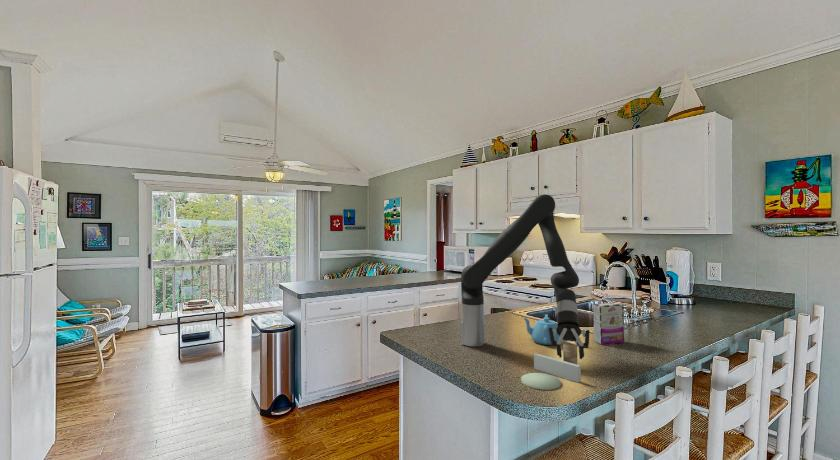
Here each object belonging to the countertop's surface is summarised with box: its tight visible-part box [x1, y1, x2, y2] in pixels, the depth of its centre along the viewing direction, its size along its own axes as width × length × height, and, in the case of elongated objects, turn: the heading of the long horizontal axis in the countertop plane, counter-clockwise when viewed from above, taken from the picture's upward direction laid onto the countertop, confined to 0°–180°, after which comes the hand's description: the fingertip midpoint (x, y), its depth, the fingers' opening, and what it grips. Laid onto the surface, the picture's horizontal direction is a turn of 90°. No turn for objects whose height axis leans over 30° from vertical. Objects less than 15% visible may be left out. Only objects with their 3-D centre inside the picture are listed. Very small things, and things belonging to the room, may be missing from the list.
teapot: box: [522, 313, 560, 346], centre depth 161 cm, size 15×15×10 cm
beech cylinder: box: [562, 342, 579, 365], centre depth 129 cm, size 4×4×8 cm
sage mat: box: [520, 372, 562, 391], centre depth 118 cm, size 12×12×1 cm
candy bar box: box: [592, 302, 625, 346], centre depth 158 cm, size 11×5×16 cm, turn 102°
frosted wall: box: [533, 353, 582, 383], centre depth 123 cm, size 16×2×5 cm, turn 39°
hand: (570, 357), depth 128 cm, fingers open, 6 cm apart
